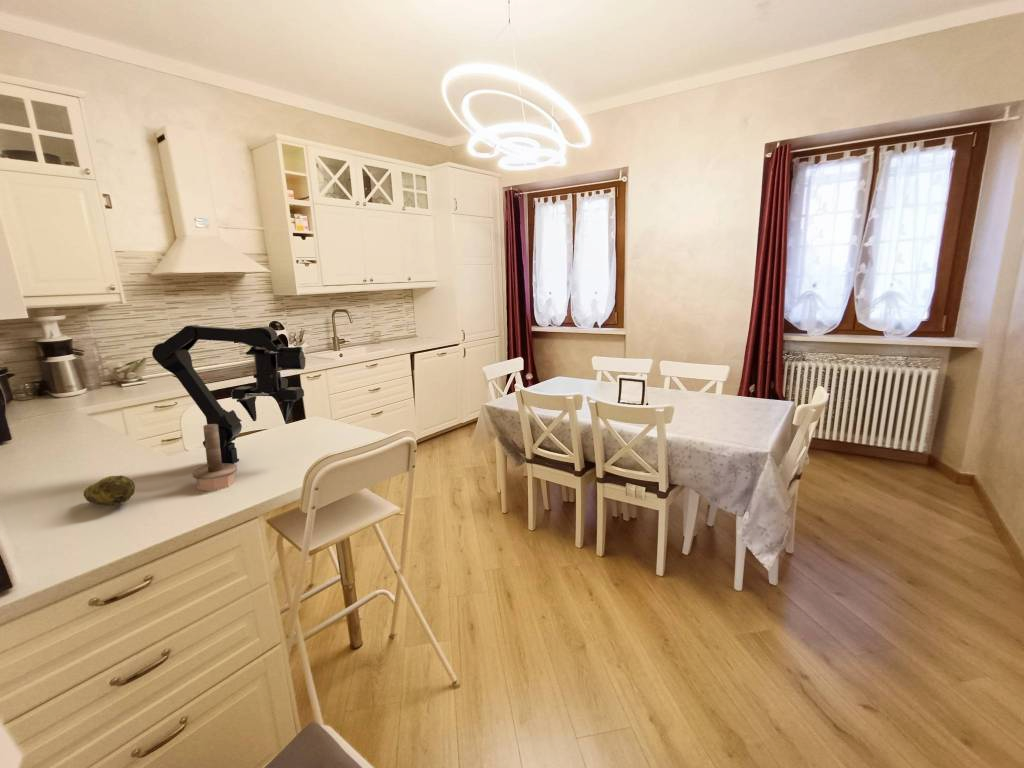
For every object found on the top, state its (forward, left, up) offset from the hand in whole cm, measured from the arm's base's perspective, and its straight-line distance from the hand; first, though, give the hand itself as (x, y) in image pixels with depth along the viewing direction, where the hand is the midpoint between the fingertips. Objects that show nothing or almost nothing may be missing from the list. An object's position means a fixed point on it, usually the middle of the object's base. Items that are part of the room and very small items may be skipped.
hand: (270, 421), depth 134 cm
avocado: (-23, -30, -13) cm, 40 cm away
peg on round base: (-7, -17, -10) cm, 21 cm away
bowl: (-7, -17, -13) cm, 22 cm away
